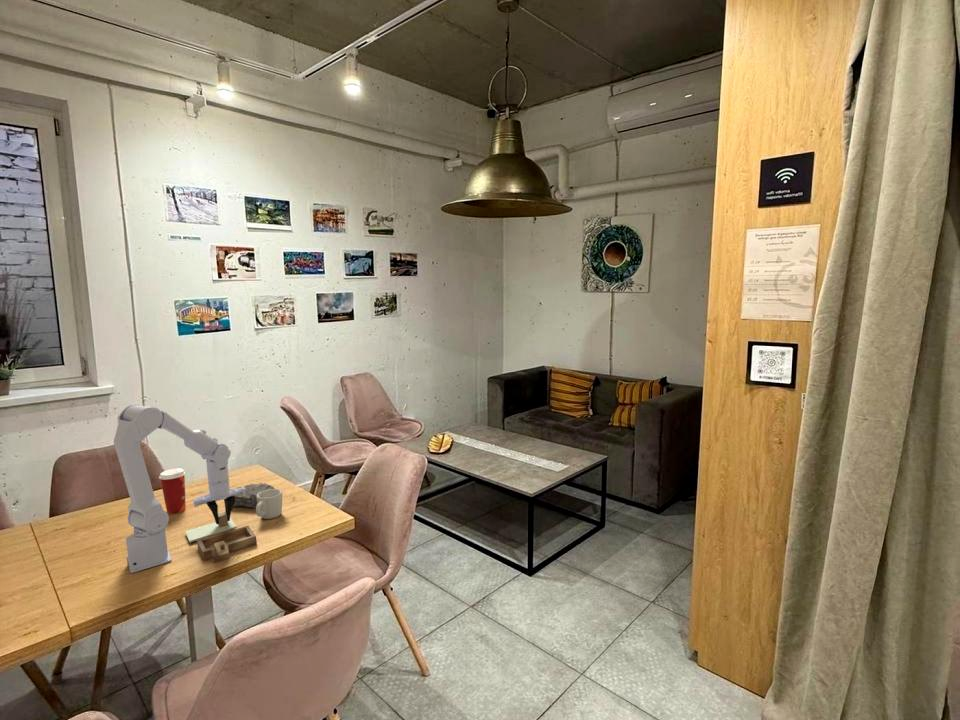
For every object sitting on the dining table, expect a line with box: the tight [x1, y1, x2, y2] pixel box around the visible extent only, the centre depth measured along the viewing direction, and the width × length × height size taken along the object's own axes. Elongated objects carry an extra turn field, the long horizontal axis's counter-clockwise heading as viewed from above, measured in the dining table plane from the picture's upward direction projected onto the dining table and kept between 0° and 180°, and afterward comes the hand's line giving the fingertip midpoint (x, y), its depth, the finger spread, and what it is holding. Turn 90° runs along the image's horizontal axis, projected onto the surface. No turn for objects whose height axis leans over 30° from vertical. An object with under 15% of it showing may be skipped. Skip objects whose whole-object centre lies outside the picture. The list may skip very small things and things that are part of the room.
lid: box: [184, 511, 238, 543], centre depth 155 cm, size 13×8×4 cm, turn 128°
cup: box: [255, 488, 283, 520], centre depth 165 cm, size 11×8×8 cm
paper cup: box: [158, 467, 187, 515], centre depth 172 cm, size 8×8×14 cm
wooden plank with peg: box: [214, 541, 230, 556], centre depth 138 cm, size 2×6×2 cm, turn 39°
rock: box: [233, 482, 276, 509], centre depth 178 cm, size 13×6×15 cm
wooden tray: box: [196, 525, 257, 564], centre depth 145 cm, size 14×12×3 cm
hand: (222, 521), depth 157 cm, fingers closed on lid, 2 cm apart
